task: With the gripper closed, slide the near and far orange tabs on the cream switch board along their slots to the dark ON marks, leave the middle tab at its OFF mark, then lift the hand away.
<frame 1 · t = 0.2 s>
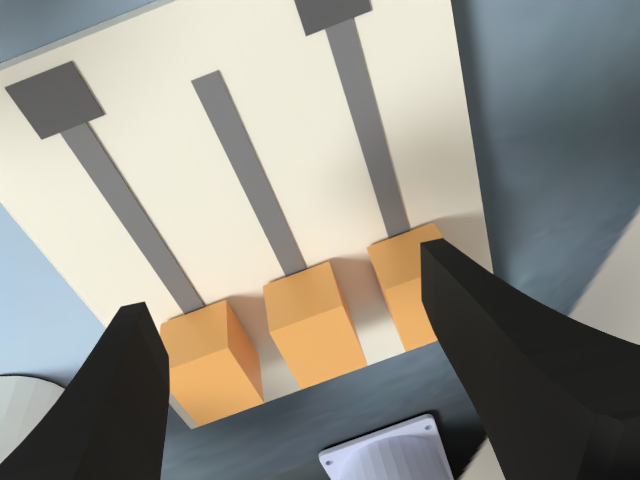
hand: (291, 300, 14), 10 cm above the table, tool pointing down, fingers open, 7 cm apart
cup: (21, 412, 28), on the table
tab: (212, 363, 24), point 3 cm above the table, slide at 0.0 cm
tab middle: (315, 325, 24), point 3 cm above the table, slide at 0.0 cm
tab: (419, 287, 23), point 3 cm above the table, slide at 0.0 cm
switch board: (275, 218, 24), on the table
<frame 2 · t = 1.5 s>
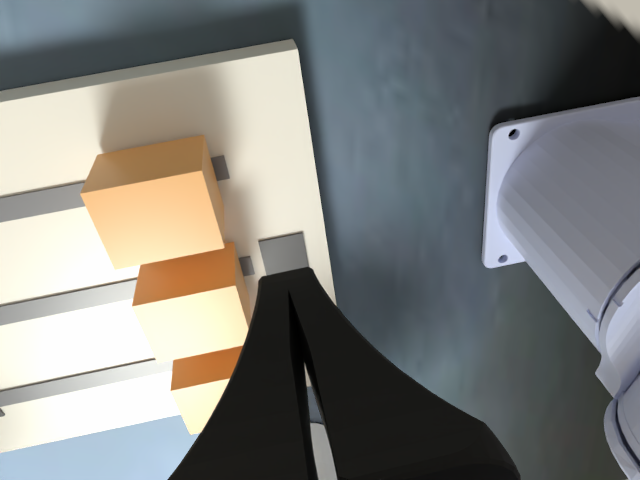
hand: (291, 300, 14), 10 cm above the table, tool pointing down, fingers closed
cup: (295, 449, 35), on the table
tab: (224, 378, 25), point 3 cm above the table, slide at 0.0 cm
tab middle: (196, 301, 22), point 3 cm above the table, slide at 0.0 cm
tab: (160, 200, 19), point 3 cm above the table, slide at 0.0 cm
switch board: (114, 272, 25), on the table
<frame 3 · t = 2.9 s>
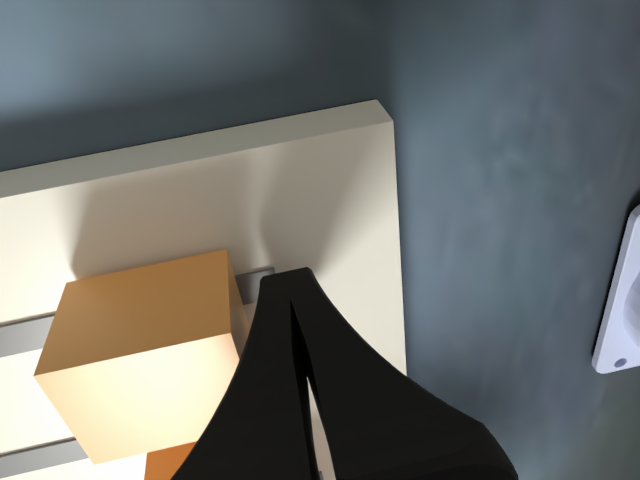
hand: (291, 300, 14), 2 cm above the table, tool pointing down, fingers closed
tab middle: (231, 462, 16), point 3 cm above the table, slide at 0.0 cm
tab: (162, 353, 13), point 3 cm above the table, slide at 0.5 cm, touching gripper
switch board: (113, 403, 18), on the table
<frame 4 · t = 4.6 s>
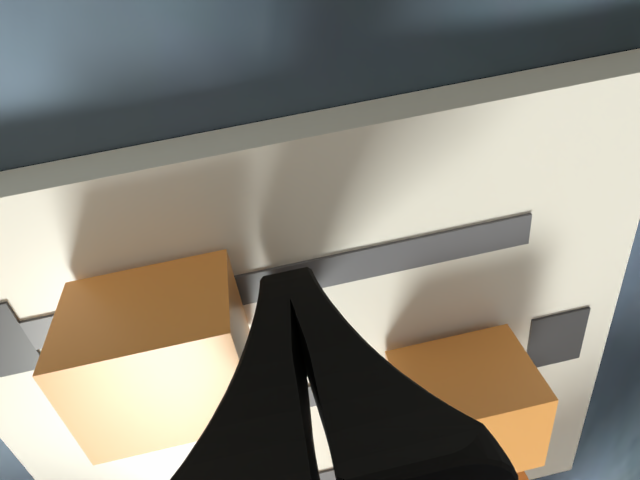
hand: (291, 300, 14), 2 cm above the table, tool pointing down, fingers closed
tab middle: (463, 408, 16), point 3 cm above the table, slide at 0.0 cm
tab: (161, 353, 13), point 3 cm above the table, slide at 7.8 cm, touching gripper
switch board: (318, 357, 19), on the table
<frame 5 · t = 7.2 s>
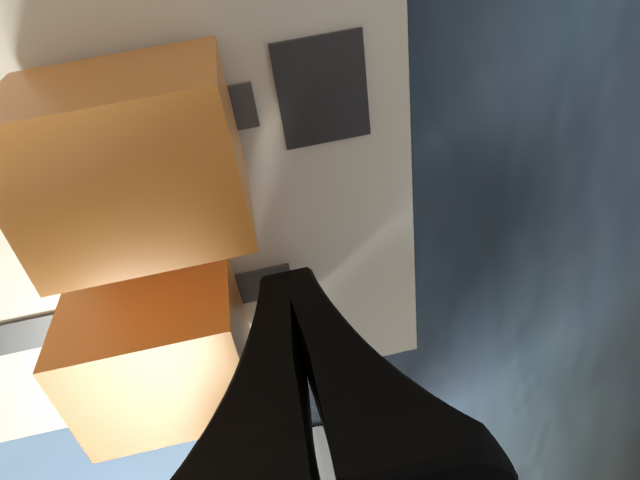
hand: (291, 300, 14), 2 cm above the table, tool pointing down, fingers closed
cup: (319, 465, 23), on the table
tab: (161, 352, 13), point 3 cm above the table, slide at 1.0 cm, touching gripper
tab middle: (131, 161, 10), point 3 cm above the table, slide at 0.0 cm
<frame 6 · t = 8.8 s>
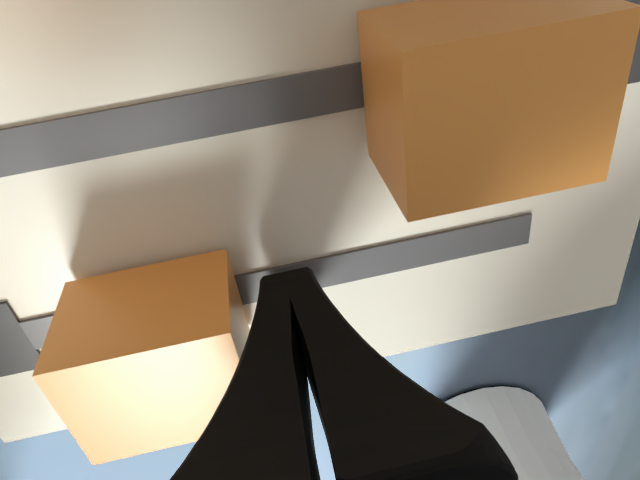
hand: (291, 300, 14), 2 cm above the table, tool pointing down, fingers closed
cup: (470, 430, 23), on the table
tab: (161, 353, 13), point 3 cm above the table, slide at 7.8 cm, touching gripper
tab middle: (479, 94, 10), point 3 cm above the table, slide at 0.0 cm
switch board: (265, 80, 13), on the table
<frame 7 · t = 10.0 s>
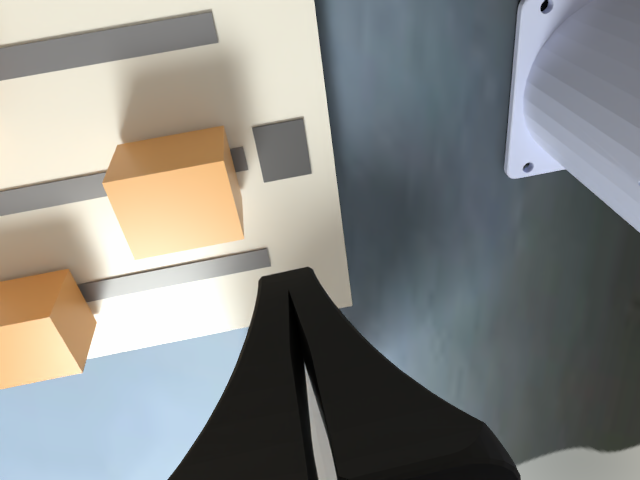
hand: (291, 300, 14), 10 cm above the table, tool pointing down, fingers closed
cup: (295, 395, 32), on the table
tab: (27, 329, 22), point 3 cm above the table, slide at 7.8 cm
tab middle: (180, 191, 19), point 3 cm above the table, slide at 0.0 cm
switch board: (90, 170, 22), on the table
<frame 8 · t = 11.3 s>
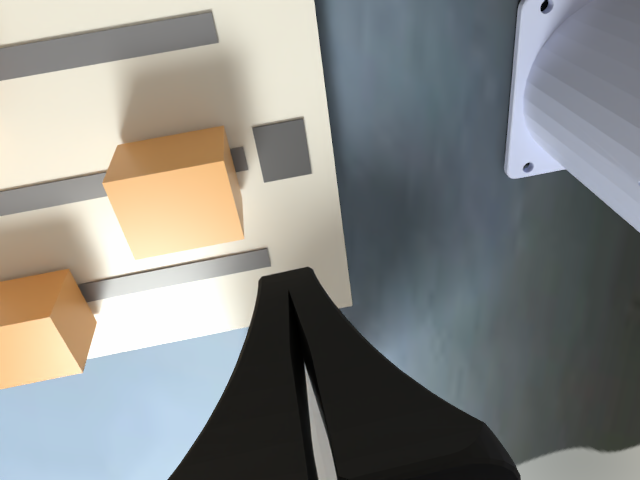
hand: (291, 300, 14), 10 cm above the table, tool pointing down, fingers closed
cup: (295, 395, 32), on the table
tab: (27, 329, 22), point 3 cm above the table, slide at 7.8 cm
tab middle: (180, 191, 19), point 3 cm above the table, slide at 0.0 cm
switch board: (90, 170, 22), on the table
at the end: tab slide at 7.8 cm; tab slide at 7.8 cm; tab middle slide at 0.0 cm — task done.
